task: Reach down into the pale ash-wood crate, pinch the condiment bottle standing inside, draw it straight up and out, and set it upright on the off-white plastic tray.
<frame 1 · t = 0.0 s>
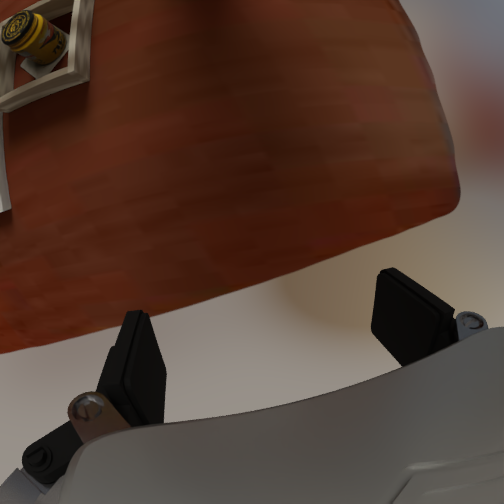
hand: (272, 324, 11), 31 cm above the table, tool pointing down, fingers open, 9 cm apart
condiment: (47, 53, 27), resting in crate
crate: (47, 52, 26), on the table
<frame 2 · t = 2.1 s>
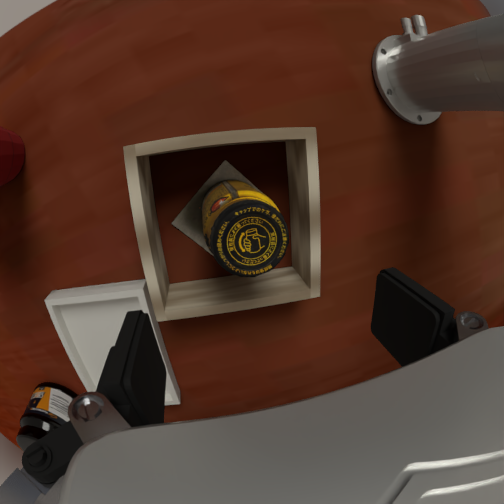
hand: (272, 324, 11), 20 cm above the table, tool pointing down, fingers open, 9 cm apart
condiment: (224, 213, 30), resting in crate
supplement container: (63, 400, 34), on the table
crate: (224, 213, 30), on the table
tray: (117, 347, 32), on the table
plastic cup: (9, 158, 23), on the table
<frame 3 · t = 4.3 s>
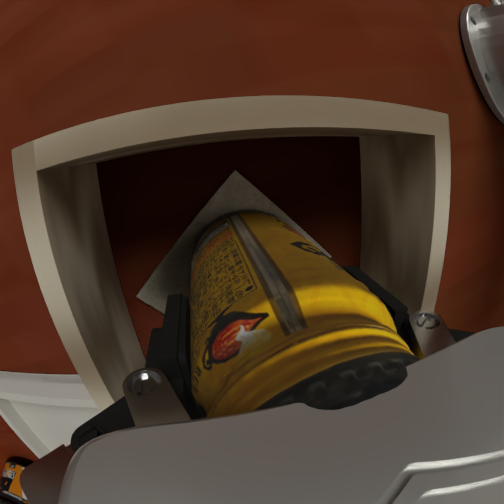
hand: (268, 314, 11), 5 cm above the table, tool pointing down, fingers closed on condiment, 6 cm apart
condiment: (234, 273, 16), resting in crate, touching gripper
supplement container: (40, 473, 20), on the table
crate: (246, 273, 16), on the table
tray: (91, 443, 18), on the table
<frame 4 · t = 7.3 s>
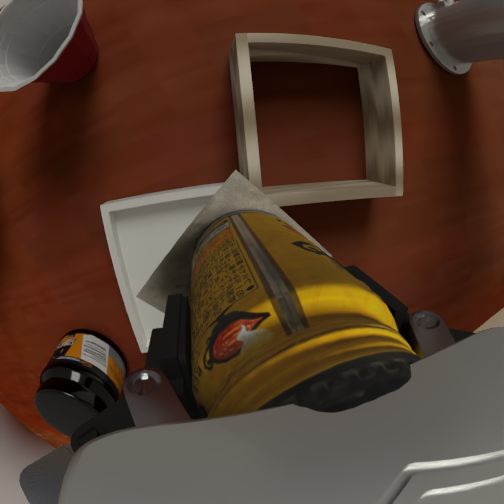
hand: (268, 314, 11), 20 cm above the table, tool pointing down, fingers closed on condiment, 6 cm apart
condiment: (235, 273, 16), point 16 cm above the table, touching gripper
supplement container: (94, 355, 34), on the table
crate: (308, 120, 28), on the table
tray: (178, 270, 31), on the table
plastic cup: (76, 62, 21), on the table
when the fingers open (7 cm above the table, at t = 10.8 s): condiment stays where it is, resting on tray.
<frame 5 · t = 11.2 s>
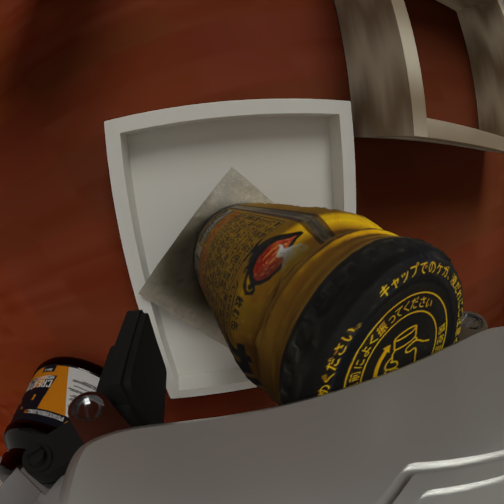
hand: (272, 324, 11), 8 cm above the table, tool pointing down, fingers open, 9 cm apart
condiment: (233, 266, 16), point 2 cm above the table, touching tray
supplement container: (89, 394, 20), on the table
crate: (424, 51, 15), on the table
tray: (242, 256, 18), on the table
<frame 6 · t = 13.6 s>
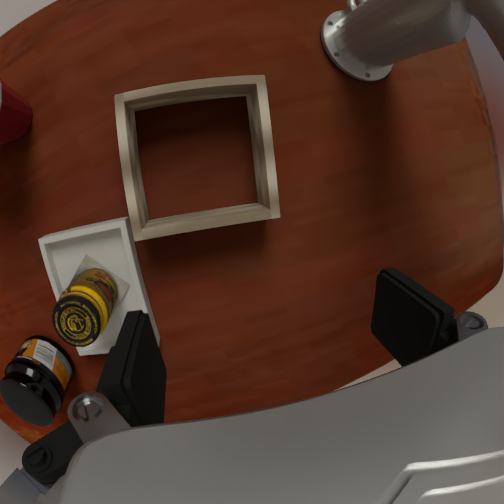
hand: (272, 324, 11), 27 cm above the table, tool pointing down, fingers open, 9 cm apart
condiment: (93, 294, 34), point 2 cm above the table, touching tray
supplement container: (49, 357, 37), on the table
crate: (196, 155, 33), on the table
tray: (101, 288, 35), on the table
plastic cup: (18, 121, 26), on the table
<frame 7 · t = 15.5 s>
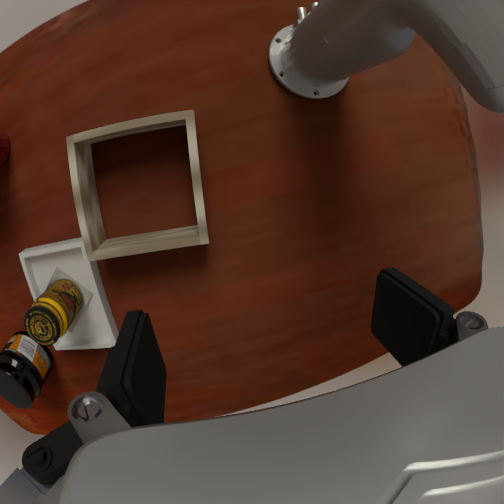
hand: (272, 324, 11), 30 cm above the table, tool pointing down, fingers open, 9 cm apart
condiment: (64, 300, 37), point 2 cm above the table, touching tray
supplement container: (33, 350, 41), on the table
crate: (142, 183, 36), on the table
tray: (71, 295, 39), on the table
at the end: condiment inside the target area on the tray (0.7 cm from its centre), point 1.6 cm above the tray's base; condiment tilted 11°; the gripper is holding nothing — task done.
